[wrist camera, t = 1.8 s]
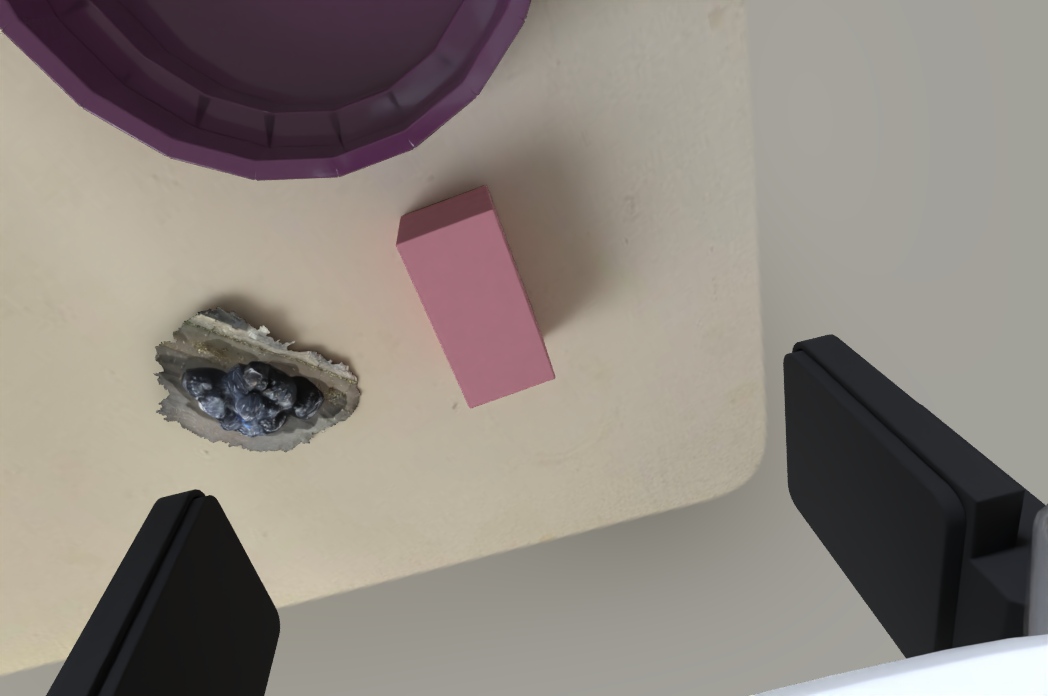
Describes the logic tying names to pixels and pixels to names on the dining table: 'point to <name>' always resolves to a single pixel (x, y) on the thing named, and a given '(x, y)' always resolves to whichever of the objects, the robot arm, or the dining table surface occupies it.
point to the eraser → (474, 296)
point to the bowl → (269, 73)
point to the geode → (249, 385)
